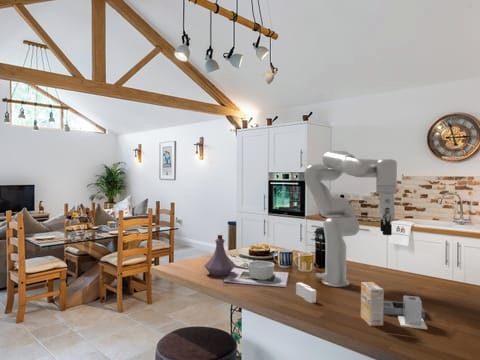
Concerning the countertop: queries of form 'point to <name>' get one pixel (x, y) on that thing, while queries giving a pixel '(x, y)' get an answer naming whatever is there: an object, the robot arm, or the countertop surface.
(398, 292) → the countertop surface
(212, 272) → the flask
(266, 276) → the ramekin
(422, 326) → the coaster
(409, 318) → the grey rectangular block
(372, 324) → the supplement box
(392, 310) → the grey recessed block
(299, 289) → the white double box
